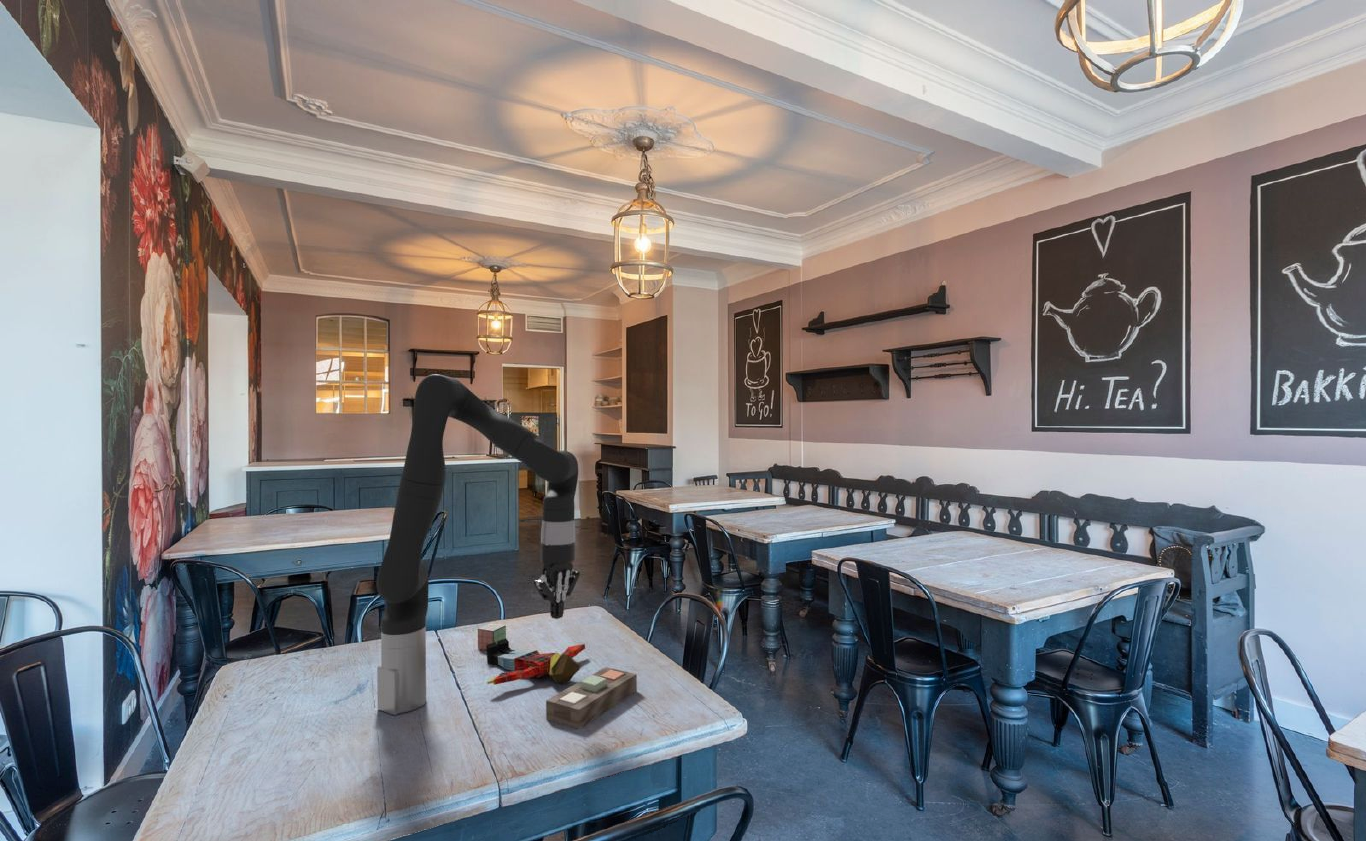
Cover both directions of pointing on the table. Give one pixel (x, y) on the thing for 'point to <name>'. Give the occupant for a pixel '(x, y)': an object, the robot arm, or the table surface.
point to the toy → (532, 663)
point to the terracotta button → (612, 675)
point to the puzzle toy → (490, 634)
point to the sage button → (593, 683)
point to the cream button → (573, 698)
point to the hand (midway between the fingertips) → (556, 617)
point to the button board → (590, 700)
